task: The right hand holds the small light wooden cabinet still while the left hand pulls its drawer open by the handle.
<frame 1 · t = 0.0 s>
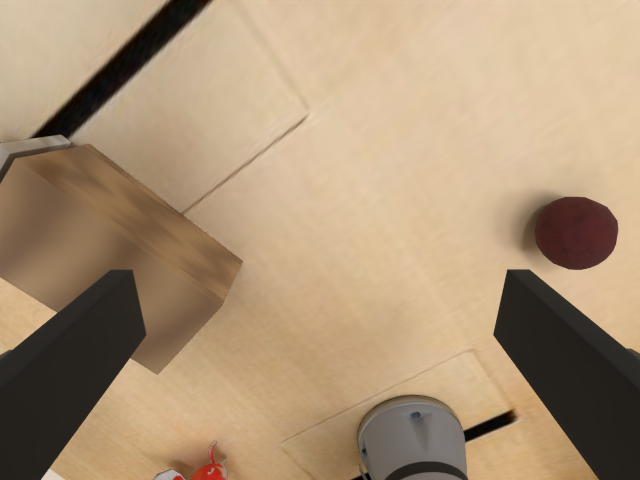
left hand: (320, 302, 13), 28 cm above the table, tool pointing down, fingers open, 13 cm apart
fish: (203, 465, 56), on the table
drawer: (72, 222, 36), point 5 cm above the table, slide at 1.0 cm
cabinet: (144, 240, 42), on the table
dark red ball: (553, 220, 41), on the table
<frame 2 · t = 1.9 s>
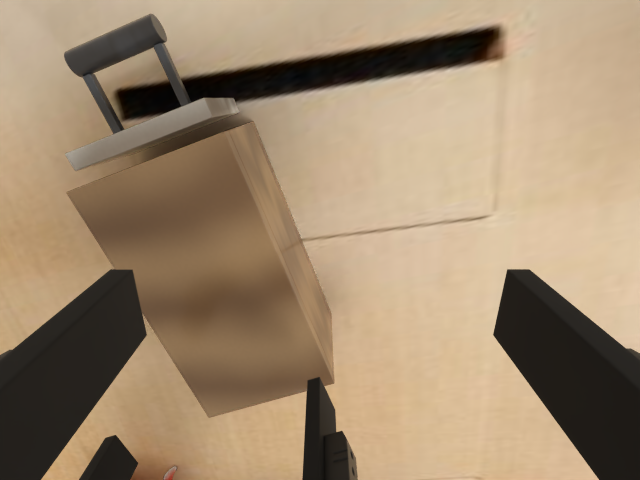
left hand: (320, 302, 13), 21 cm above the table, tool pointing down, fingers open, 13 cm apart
drawer: (200, 205, 28), point 5 cm above the table, slide at 1.0 cm
cabinet: (243, 245, 35), on the table
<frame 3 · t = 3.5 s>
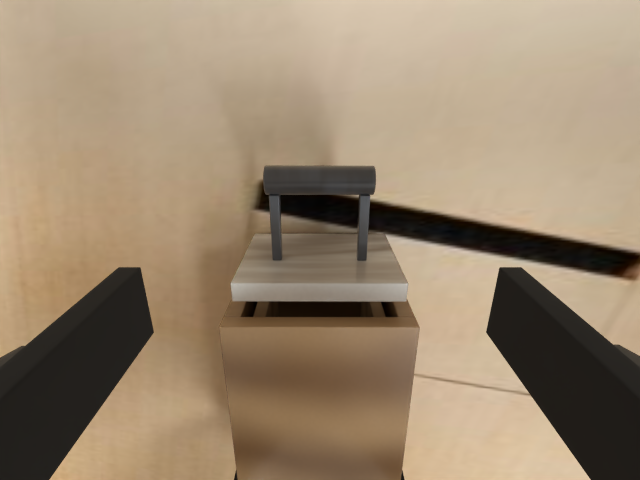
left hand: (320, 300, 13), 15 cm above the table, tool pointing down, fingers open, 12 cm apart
drawer: (319, 337, 26), point 5 cm above the table, slide at 1.0 cm
cabinet: (319, 356, 33), on the table, touching right hand
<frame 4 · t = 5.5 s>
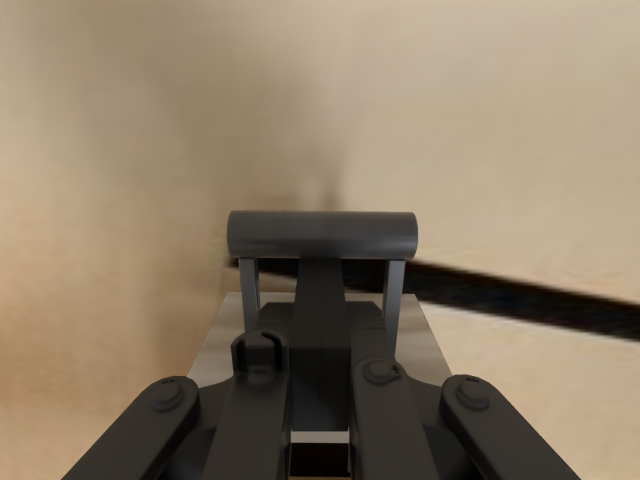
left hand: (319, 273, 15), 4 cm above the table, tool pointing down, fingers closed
drawer: (319, 449, 18), point 5 cm above the table, slide at 1.7 cm, touching left hand
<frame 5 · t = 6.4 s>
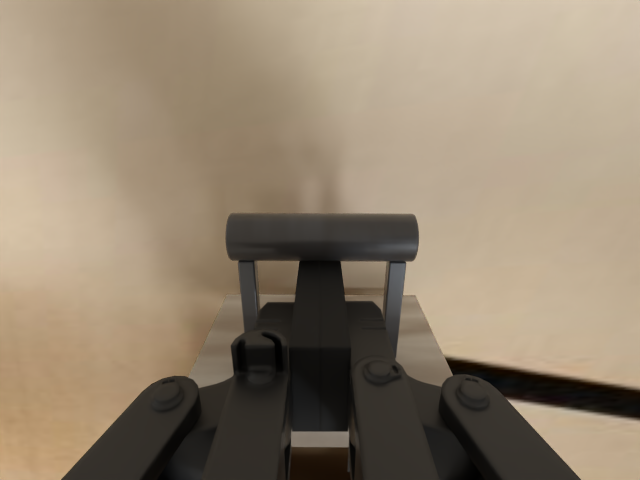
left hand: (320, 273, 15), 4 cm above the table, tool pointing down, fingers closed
drawer: (320, 452, 18), point 5 cm above the table, slide at 7.5 cm, touching left hand
when the right hand's fingers open (5 cm above the table, at t = 8.3 s): cabinet stays where it is, on the table.
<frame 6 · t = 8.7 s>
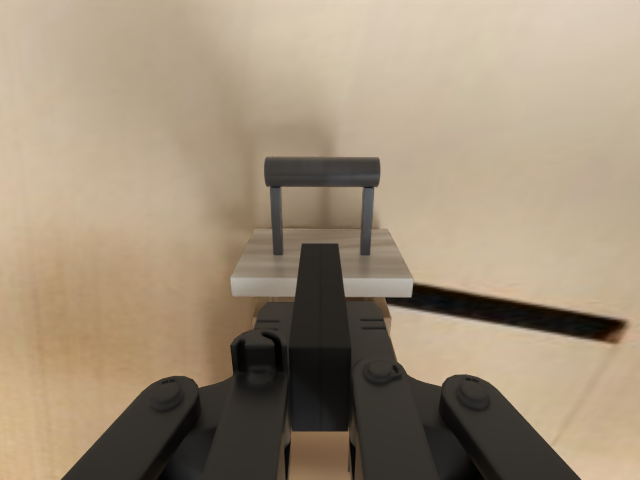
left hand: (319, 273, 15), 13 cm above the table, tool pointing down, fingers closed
drawer: (320, 335, 25), point 5 cm above the table, slide at 7.5 cm
cabinet: (320, 409, 35), on the table
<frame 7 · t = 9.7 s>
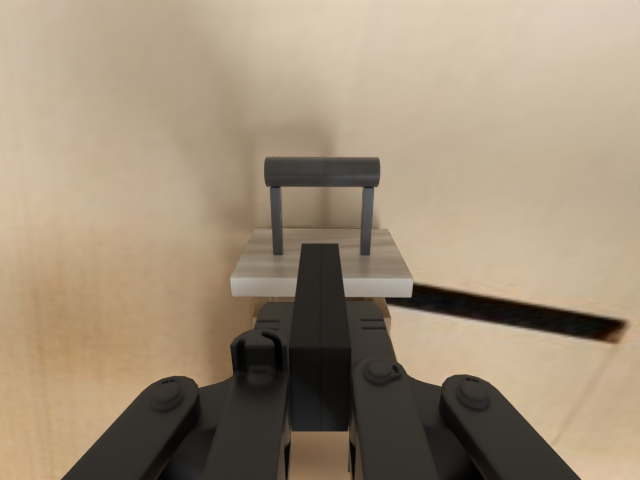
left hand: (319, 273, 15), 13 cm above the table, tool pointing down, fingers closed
drawer: (320, 335, 25), point 5 cm above the table, slide at 7.5 cm
cabinet: (320, 409, 35), on the table
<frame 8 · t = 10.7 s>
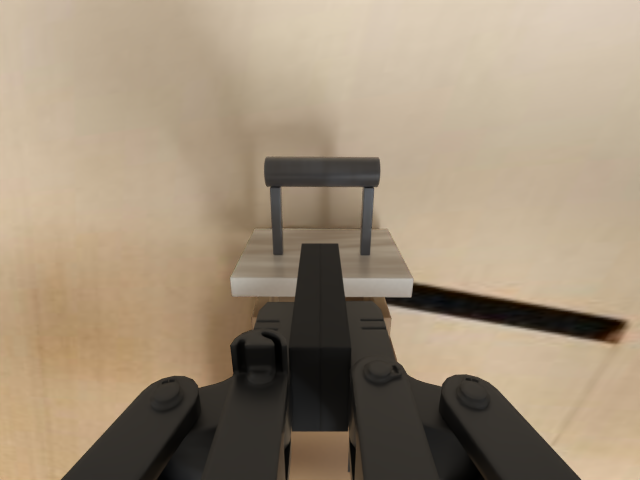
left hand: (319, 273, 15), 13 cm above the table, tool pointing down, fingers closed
drawer: (320, 335, 25), point 5 cm above the table, slide at 7.5 cm
cabinet: (320, 409, 35), on the table
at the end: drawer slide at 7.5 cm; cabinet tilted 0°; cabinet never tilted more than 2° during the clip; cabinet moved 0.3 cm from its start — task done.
